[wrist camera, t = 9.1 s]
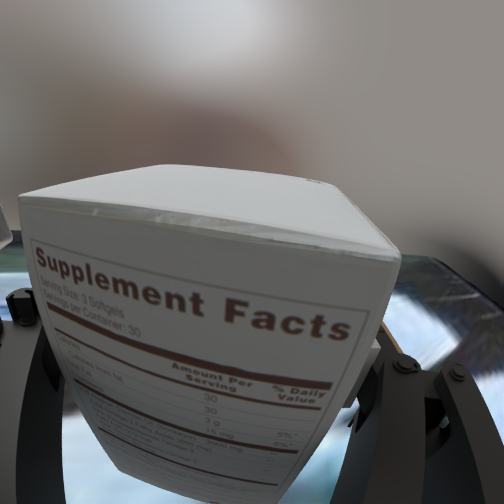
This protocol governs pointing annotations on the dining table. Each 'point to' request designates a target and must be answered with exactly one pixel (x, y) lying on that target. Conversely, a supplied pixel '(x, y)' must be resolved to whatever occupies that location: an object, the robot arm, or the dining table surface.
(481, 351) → the dining table surface
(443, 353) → the dining table surface
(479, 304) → the dining table surface
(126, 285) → the supplement box
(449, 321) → the dining table surface
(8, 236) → the grey box
